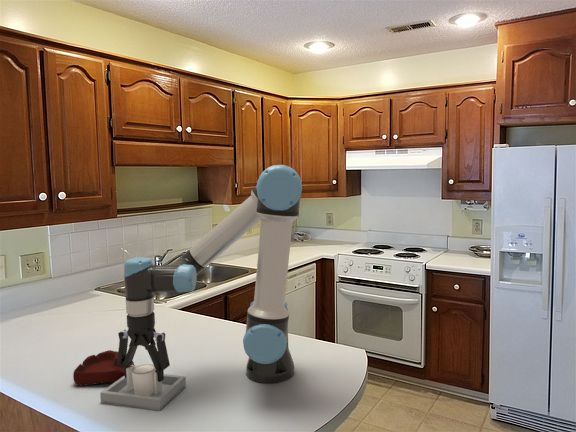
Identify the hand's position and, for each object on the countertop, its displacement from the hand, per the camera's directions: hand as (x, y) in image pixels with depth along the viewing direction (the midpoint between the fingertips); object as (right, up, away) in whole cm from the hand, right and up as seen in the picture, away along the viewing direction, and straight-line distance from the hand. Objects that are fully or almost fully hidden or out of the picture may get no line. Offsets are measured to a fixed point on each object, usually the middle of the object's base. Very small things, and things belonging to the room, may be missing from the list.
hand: (144, 390), depth 129 cm
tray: (0, -1, 0) cm, 1 cm away
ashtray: (-17, -1, +12) cm, 21 cm away
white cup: (0, -1, 0) cm, 1 cm away
